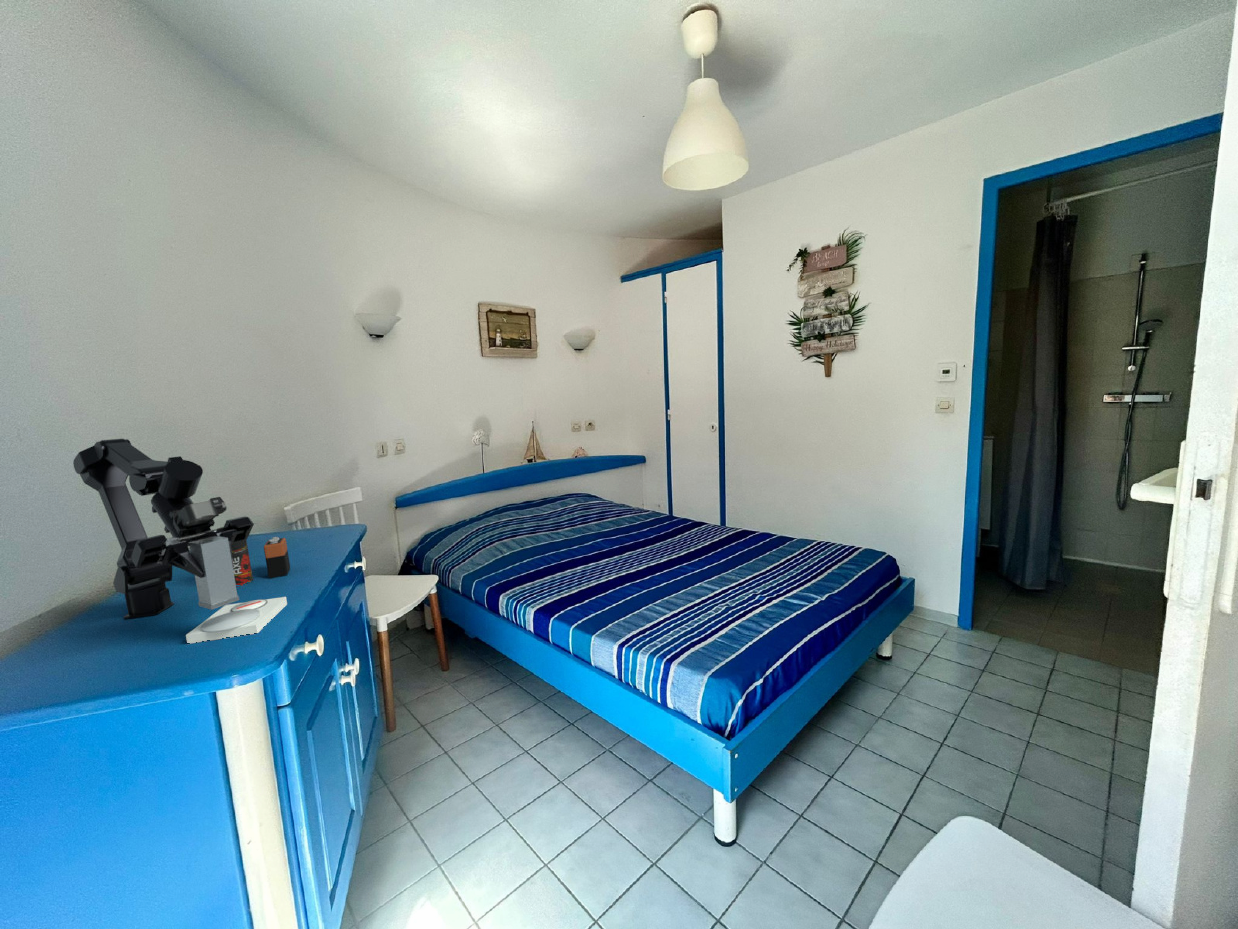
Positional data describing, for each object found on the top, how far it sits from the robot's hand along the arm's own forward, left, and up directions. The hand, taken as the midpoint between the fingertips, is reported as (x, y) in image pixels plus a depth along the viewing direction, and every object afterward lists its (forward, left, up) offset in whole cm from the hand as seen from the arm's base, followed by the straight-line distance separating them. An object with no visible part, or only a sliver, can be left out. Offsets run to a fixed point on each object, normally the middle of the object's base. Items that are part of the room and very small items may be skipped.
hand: (217, 572), depth 98 cm
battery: (-5, +40, -13) cm, 42 cm away
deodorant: (-13, +36, -13) cm, 40 cm away
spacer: (-1, +1, -7) cm, 7 cm away
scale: (0, +6, -13) cm, 15 cm away
